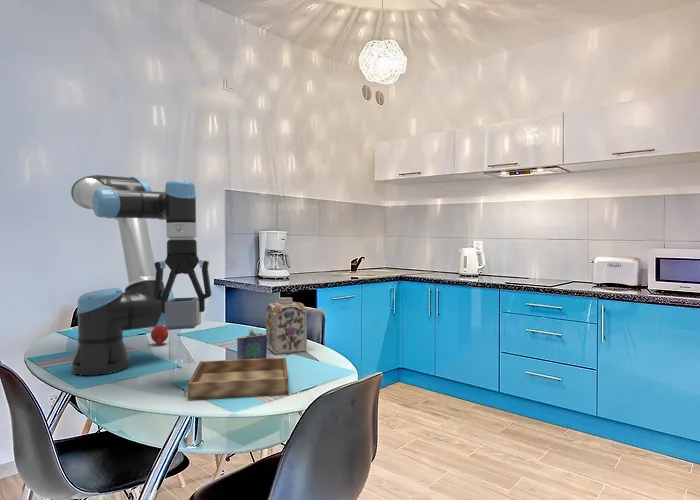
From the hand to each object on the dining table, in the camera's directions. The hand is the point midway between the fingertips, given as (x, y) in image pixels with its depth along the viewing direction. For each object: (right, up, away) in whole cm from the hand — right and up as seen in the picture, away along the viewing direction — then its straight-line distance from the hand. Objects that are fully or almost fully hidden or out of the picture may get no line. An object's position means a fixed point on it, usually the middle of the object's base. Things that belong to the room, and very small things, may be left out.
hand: (183, 324), depth 125 cm
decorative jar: (+22, -15, +37) cm, 46 cm away
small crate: (0, 0, 0) cm, 0 cm away
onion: (-24, -15, +44) cm, 53 cm away
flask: (+14, -15, +18) cm, 28 cm away
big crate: (+16, -16, -1) cm, 22 cm away
